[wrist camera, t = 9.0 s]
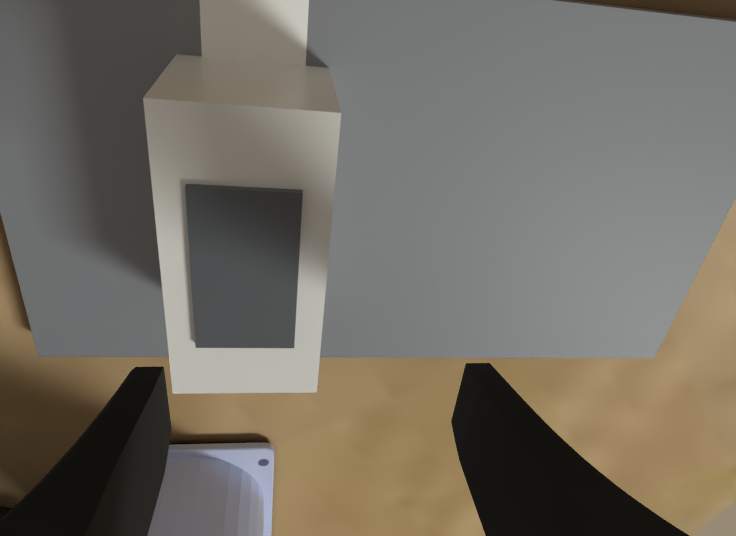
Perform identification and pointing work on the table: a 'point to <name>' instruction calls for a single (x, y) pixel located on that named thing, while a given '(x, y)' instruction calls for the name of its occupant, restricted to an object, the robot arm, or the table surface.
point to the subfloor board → (391, 167)
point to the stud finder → (243, 219)
